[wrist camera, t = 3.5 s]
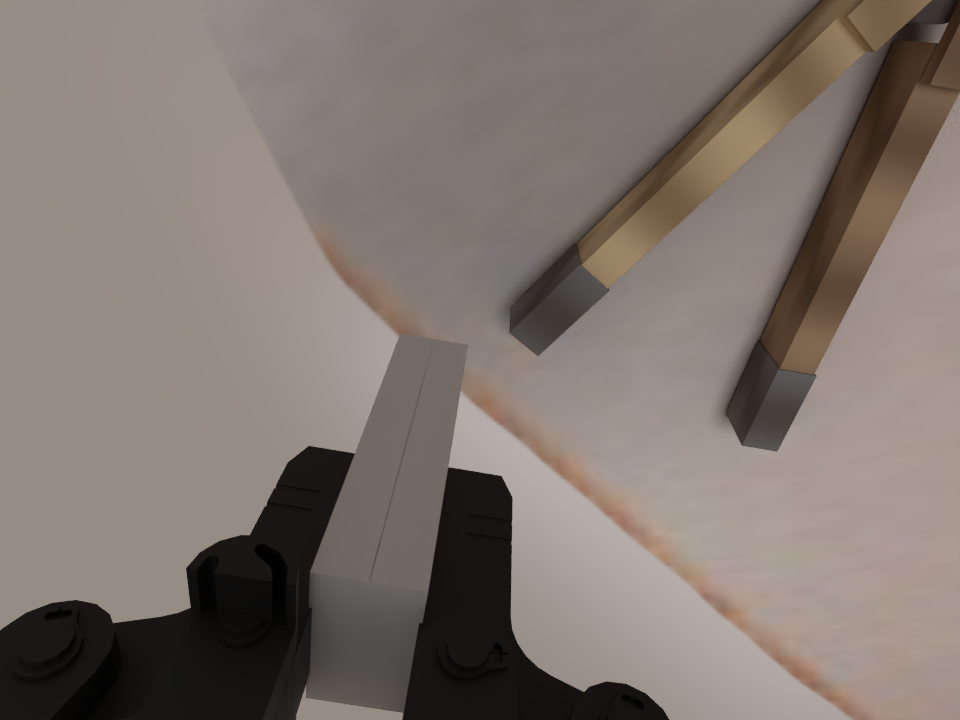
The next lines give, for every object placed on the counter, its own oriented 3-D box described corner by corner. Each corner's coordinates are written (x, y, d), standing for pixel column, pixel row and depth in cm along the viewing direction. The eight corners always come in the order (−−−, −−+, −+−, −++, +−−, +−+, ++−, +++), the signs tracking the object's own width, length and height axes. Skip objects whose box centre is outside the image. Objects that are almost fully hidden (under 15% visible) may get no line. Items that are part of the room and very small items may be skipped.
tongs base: (893, -63, 24) (952, -75, 21) (982, -47, 24) (1056, -56, 21) (698, 408, 36) (715, 449, 33) (758, 418, 36) (782, 460, 33)
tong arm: (876, -56, 24) (929, -66, 21) (903, -18, 25) (959, -22, 22) (510, 307, 33) (508, 338, 30) (537, 329, 34) (538, 362, 31)
